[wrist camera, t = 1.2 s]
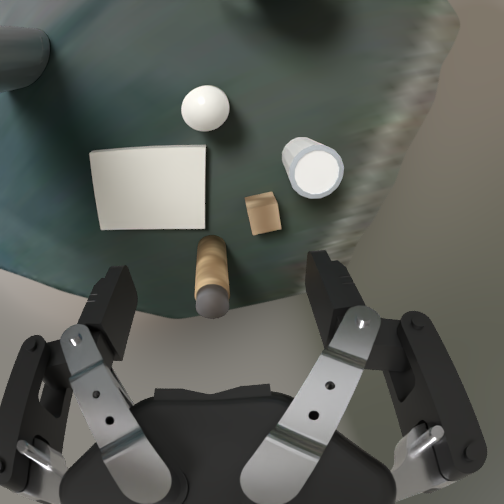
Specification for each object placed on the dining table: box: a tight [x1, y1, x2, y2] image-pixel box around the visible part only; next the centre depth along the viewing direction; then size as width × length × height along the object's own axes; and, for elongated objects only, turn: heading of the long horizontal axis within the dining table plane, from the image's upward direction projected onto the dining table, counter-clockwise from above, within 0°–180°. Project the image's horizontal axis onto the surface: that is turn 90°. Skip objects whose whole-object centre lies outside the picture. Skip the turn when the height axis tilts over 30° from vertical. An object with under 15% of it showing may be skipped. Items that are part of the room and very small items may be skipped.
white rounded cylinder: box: [181, 85, 229, 131], centre depth 31 cm, size 5×5×6 cm
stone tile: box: [89, 145, 206, 230], centre depth 38 cm, size 16×12×1 cm
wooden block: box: [245, 192, 281, 235], centre depth 41 cm, size 4×4×4 cm
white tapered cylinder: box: [282, 137, 344, 199], centre depth 36 cm, size 7×7×7 cm
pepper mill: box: [195, 235, 230, 319], centre depth 40 cm, size 4×4×13 cm
